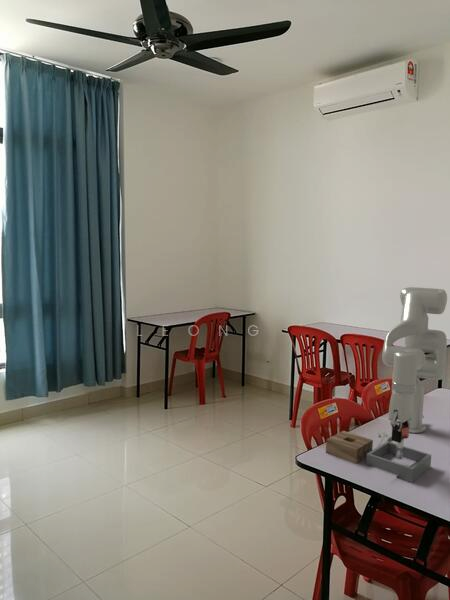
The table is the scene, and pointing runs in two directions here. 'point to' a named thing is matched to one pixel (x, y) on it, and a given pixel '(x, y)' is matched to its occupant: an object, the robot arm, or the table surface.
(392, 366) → the robot arm
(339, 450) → the eye block
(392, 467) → the tray
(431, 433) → the table surface
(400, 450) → the red knob with stem
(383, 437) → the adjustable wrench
